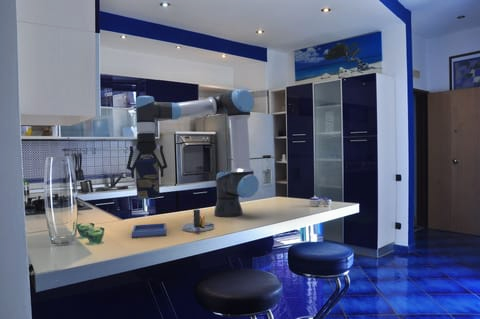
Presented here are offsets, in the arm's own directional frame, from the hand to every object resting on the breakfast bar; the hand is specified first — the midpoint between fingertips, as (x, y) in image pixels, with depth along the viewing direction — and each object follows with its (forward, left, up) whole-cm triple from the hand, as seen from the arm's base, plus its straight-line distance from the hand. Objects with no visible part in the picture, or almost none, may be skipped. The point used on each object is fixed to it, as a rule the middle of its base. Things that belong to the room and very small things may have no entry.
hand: (147, 185), depth 159 cm
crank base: (-21, -2, -21) cm, 29 cm away
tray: (0, 0, -21) cm, 21 cm away
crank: (-20, +2, -19) cm, 28 cm away
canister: (0, 0, -6) cm, 6 cm away
